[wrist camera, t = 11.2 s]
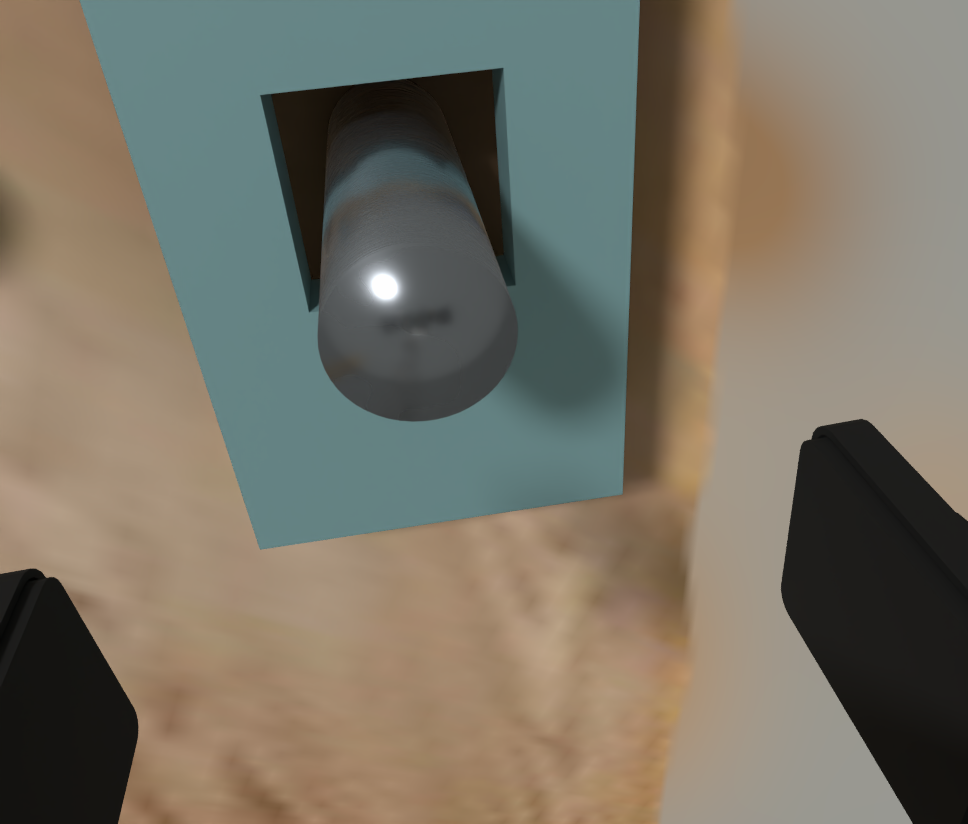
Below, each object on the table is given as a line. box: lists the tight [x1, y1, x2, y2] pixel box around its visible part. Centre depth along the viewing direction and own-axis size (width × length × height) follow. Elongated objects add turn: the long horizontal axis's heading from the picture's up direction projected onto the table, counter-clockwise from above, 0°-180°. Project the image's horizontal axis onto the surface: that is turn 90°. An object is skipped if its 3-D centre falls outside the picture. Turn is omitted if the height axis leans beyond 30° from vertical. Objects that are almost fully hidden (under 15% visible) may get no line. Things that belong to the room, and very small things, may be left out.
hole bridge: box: [80, 0, 640, 550], centre depth 22 cm, size 22×12×5 cm, turn 4°
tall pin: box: [317, 79, 518, 422], centre depth 19 cm, size 4×4×12 cm
